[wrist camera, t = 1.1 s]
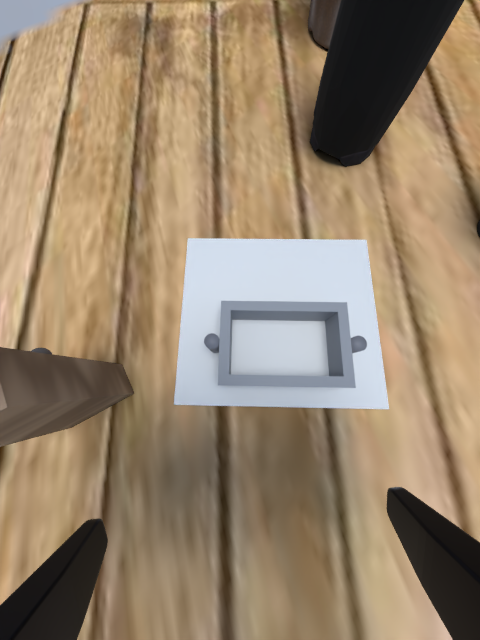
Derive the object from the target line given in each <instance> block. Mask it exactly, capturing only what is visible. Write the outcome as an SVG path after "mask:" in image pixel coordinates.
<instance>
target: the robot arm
mask: <svg viewBox="0 0 480 640" xmlns="http://www.w3.org/2000/svg"><path fill="white" fill-rule="evenodd" d="M387 513H388V516H389V518H390V521H391V523H392V525H393V527H394V529H395V531H396V533H397V535H398V537H399V539H400V541H401V543H402V545H403V548H404V550H405V552H406V554H407V556H408V558H409V560H410V562H411V564H412V566H413V568H414V570H415V572H416V574H417V576H418V578H419V580H420V582H421V584H422V586H423V588H424V590H425V592H426V593H427V595H428V597H429V599H430V600H431V602H432V604H433V606H434V607H435V609H436V611H437V613H438V614H439V616H440V618H441V620H442V621H443V623H444V625H445V627H446V628H447V630H448V632H449V634H450V635H451V637H452V639H453V640H480V542H478V541H477V540H476V539H474V538H473V537H471V536H470V535H469V534H467V533H466V532H464V531H463V530H462V529H460V528H459V527H457V526H456V525H455V524H453V523H452V522H450V521H449V520H448V519H446V518H445V517H443V516H442V515H441V514H439V513H438V512H436V511H435V510H434V509H432V508H431V507H429V506H428V505H427V504H425V503H424V502H422V501H421V500H420V499H418V498H417V497H415V496H414V495H413V494H411V493H410V492H408V491H407V490H406V489H404V488H402V487H394V488H389V489H388V492H387ZM107 543H108V539H107V534H106V530H105V527H104V523H103V520H102V519H91V520H88V521H86V522H85V523H84V524H83V525H82V526H81V527H80V528H79V529H78V530H77V531H76V532H75V533H74V534H73V535H71V536H70V537H69V538H68V539H67V540H66V541H65V542H64V543H63V544H62V545H61V546H60V547H59V548H58V549H57V550H56V551H55V552H54V553H53V554H52V555H51V556H50V557H49V558H48V559H47V560H46V561H45V562H44V563H43V564H42V565H41V566H40V567H39V568H38V569H37V570H36V571H35V572H34V573H33V574H32V575H31V576H30V577H29V578H28V579H27V580H26V581H25V582H24V583H23V584H22V585H21V586H20V587H19V588H18V589H17V590H16V591H15V592H13V593H12V594H11V595H10V596H9V597H8V598H7V599H6V600H5V601H4V602H3V603H2V604H1V605H0V640H77V637H78V635H79V632H80V629H81V627H82V624H83V621H84V618H85V615H86V612H87V609H88V606H89V603H90V600H91V597H92V593H93V590H94V587H95V584H96V580H97V577H98V574H99V571H100V568H101V564H102V561H103V558H104V555H105V552H106V548H107Z"/></svg>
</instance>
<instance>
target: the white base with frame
mask: <svg viewBox="0 0 480 640" xmlns="http://www.w3.org/2000/svg"><path fill="white" fill-rule="evenodd" d="M174 405H208V406H256V407H305V408H353V409H389V405H388V398H387V390H386V383H385V375H384V368H383V360H382V353H381V345H380V338H379V330H378V323H377V316H376V308H375V301H374V293H373V286H372V278H371V271H370V263H369V256H368V248H367V241H366V240H317V239H202V238H188V244H187V256H186V268H185V280H184V291H183V303H182V315H181V327H180V339H179V350H178V362H177V374H176V386H175V398H174Z"/></svg>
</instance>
